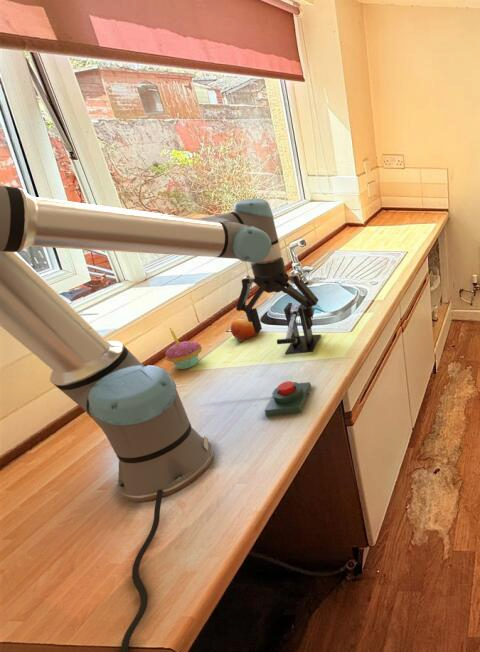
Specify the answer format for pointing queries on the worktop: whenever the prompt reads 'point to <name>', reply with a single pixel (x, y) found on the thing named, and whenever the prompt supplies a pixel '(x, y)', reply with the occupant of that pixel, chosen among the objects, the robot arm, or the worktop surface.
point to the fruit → (242, 329)
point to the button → (286, 388)
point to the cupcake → (183, 353)
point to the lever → (290, 327)
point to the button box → (288, 401)
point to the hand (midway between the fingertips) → (284, 329)
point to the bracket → (303, 342)
